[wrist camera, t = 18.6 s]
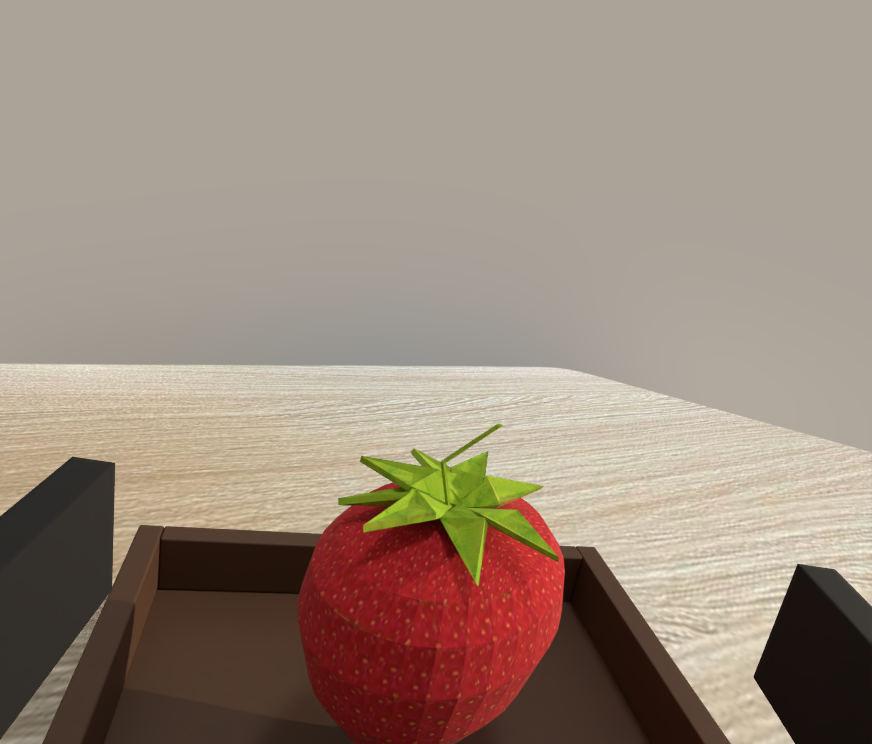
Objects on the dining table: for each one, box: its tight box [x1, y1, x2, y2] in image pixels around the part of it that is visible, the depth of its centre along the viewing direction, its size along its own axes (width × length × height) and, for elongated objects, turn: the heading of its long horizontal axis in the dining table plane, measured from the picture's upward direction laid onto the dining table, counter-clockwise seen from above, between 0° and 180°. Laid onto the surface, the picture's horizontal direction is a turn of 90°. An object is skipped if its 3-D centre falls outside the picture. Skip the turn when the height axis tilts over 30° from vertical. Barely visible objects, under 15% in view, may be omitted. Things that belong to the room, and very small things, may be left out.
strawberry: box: [297, 424, 565, 744], centre depth 16 cm, size 6×8×10 cm
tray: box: [42, 525, 731, 744], centre depth 17 cm, size 17×15×3 cm
